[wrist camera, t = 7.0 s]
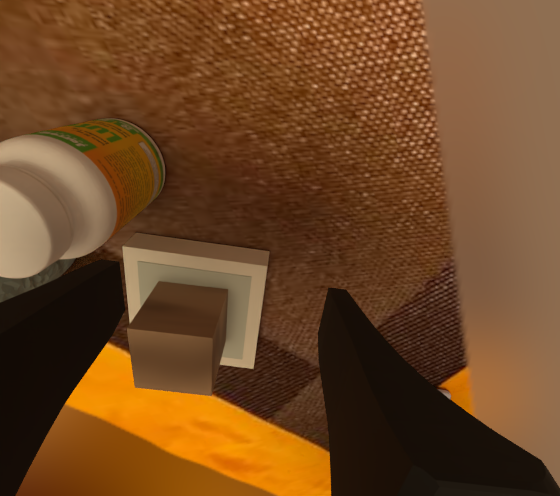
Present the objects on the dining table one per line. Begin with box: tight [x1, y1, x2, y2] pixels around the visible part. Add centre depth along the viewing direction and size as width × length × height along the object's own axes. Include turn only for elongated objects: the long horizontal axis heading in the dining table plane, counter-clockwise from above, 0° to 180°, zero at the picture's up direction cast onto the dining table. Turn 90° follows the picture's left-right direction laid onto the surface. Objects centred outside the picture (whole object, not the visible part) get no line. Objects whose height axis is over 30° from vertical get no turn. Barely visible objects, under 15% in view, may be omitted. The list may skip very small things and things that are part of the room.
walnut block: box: [127, 281, 228, 396], centre depth 20 cm, size 4×4×4 cm
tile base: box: [122, 233, 270, 369], centre depth 23 cm, size 9×9×2 cm
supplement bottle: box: [0, 118, 165, 278], centre depth 16 cm, size 5×5×10 cm
